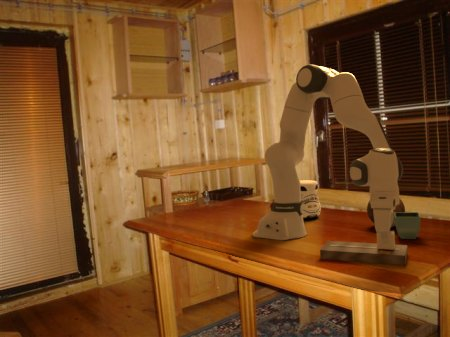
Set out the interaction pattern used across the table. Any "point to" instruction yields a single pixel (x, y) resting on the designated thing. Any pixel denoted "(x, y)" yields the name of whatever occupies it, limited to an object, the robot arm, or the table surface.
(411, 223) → the flower pot
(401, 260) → the track board
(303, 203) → the milk container
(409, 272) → the table surface
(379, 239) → the fader
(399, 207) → the brown leather ball
